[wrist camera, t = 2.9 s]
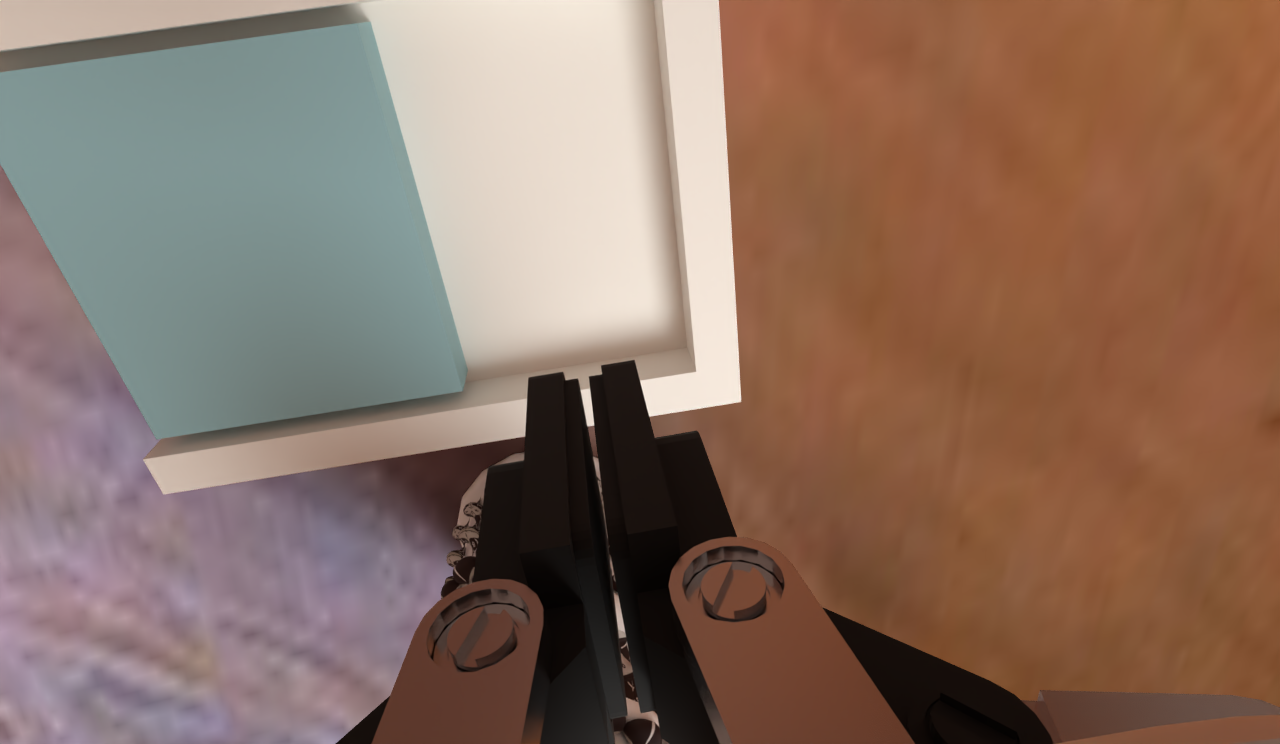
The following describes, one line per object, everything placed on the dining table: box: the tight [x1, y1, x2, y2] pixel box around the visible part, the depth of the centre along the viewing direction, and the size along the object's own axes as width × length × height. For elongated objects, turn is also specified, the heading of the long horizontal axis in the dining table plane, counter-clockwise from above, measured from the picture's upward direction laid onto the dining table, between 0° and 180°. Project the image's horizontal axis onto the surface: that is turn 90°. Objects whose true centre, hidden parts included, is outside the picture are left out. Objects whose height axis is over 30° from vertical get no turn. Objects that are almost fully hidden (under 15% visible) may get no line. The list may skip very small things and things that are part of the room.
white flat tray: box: [0, 0, 741, 494], centre depth 23 cm, size 16×22×3 cm
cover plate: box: [0, 22, 468, 439], centre depth 22 cm, size 12×11×2 cm
